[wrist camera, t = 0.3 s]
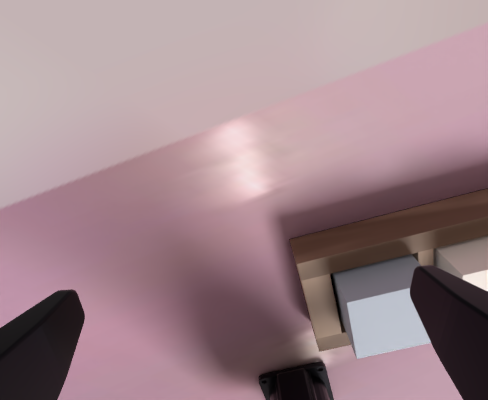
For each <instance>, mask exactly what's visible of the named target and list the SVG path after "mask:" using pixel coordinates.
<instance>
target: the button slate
mask: <svg viewBox="0 0 488 400" xmlns="http://www.w3.org/2000/svg"><path fill="white" fill-rule="evenodd" d="M417 266H421V265H420V263H419V262H418V261H417V260H416V259H415V258H414V257H413V255H412V254H409V255H405V256H401V257H397V258H393V259H389V260H385V261H381V262H376V263H372V264H368V265H364V266H360V267H356V268H352V269H348V270H344V271H340V272H336V273H332V277H333V282H334V287H335V292H336V297H337V302H338V307H339V312H340V317H341V321H342V323H343V326H344V328H345V331H346V333H347V335H348V338H349V340H350V343H351V345H352V348H353V350H354V353H355V355H356V358H357V359H359V358H364V357H368V356H373V355H377V354H382V353H386V352H391V351H396V350H400V349H405V348H409V347H414V346H418V345H423V344H428V343H431V341H430V339H429V337H428V335H427V332H426V330H425V328H424V326H423V324H422V322H421V319H420V317H419V315H418V313H417V311H416V309H415V307H414V304H413V302H412V300H411V297H410V287H411V282H412V277H413V273H414V269H415V268H416V267H417Z"/></svg>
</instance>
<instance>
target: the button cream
mask: <svg viewBox="0 0 488 400" xmlns="http://www.w3.org/2000/svg"><path fill="white" fill-rule="evenodd" d="M433 259H434V266H436V267H438V268H440V269H442V270H444V271H446V272H448V273H450V274H452V275H454V276H457V277H459V278H461V279H463V280H465V281H467V282H469V283H471V284H473V285H475V286H477V287H479V288H481V289H484V290H486V291H488V235H487V236H483V237H479V238H475V239H471V240H467V241H462V242H458V243H454V244H450V245H446V246H442V247H438V248H434V249H433Z"/></svg>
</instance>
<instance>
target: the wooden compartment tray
mask: <svg viewBox="0 0 488 400" xmlns="http://www.w3.org/2000/svg"><path fill="white" fill-rule="evenodd" d="M487 235H488V189H484V190H480V191H476V192H472V193H468V194H464V195H460V196H456V197H453V198H449V199H445V200H441V201H437V202H433V203H429V204H425V205H421V206H417V207H414V208H410V209H406V210H402V211H398V212H394V213H390V214H386V215H382V216H379V217H375V218H371V219H367V220H363V221H359V222H355V223H351V224H347V225H344V226H340V227H336V228H332V229H328V230H324V231H320V232H316V233H312V234H308V235H305V236H301V237H297V238H293V239H289V240H290V244H291V248H292V252H293V255H294V259H295V263H296V267H297V271H298V275H299V278H300V282H301V286H302V290H303V294H304V298H305V301H306V305H307V309H308V313H309V317H310V321H311V324H312V328H313V331H314V334H315V338H316V341H317V345H318V348H319V352H320V351H324V350H329V349H333V348H338V347H342V346H347V345H351V343H350V340H349V338H348V335H347V333H346V331H345V328H344V326H343V323H342V321H341V317H340V312H339V307H338V303H336V302H335V297H334V292H333V287H332V283H331V278H330V274H331V273H336V272H340V271H344V270H348V269H352V268H356V267H360V266H364V265H368V264H372V263H376V262H381V261H385V260H389V259H393V258H397V257H401V256H405V255H409V254H412V255H413V257H414V258H415V259H416V260H417V261H418V262H419V263H420V265H421V266H423V265H433V266H434V259H433V249H434V248H438V247H442V246H446V245H450V244H454V243H458V242H462V241H467V240H471V239H475V238H479V237H483V236H487Z"/></svg>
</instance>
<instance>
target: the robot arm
mask: <svg viewBox="0 0 488 400" xmlns="http://www.w3.org/2000/svg"><path fill="white" fill-rule="evenodd" d="M410 297H411V300H412V302H413V304H414V307H415V309H416V311H417V313H418V315H419V317H420V319H421V322H422V324H423V326H424V328H425V330H426V332H427V335H428V337H429V339H430V341H431V343H432V345H433V347H434V349H435V351H436V353H437V355H438V357H439V359H440V361H441V362H442V364H443V366H444V367H445V369H446V371H447V373H448V374H449V376H450V378H451V379H452V381H453V383H454V384H455V386H456V388H457V390H458V391H459V393H460V395H461V396H462V398H463V400H488V291H486V290H484V289H481V288H479V287H477V286H475V285H473V284H471V283H469V282H467V281H465V280H463V279H461V278H459V277H457V276H454V275H452V274H450V273H448V272H446V271H444V270H442V269H440V268H438V267H436V266H433V265H423V266H417V267H416V268H415V269H414V273H413V277H412V282H411V287H410ZM84 319H85V315H84V311H83V308H82V305H81V302H80V300H79V297H78V294H77V292H76V291H75V290H60V291H57V292H55V293H53V294H52V295H50V296H49V297H47V298H46V299H44V300H43V301H41V302H40V303H38V304H36V305H35V306H33V307H32V308H30V309H29V310H27V311H26V312H24V313H23V314H21V315H20V316H18V317H16V318H15V319H13V320H12V321H10V322H9V323H7V324H6V325H4V326H3V327H1V328H0V400H57V399H58V397H59V394H60V392H61V389H62V387H63V385H64V382H65V380H66V377H67V374H68V371H69V368H70V365H71V362H72V358H73V355H74V352H75V349H76V346H77V343H78V339H79V336H80V333H81V330H82V327H83V324H84ZM259 384H260V386H261V389H262V391H263V393H264V396H265V398H266V400H334V398H333V395H332V391H331V387H330V383H329V379H328V375H327V371H326V367H325V364H324V363H322V362H318V363H314V364H309V365H305V366H300V367H296V368H291V369H287V370H282V371H278V372H273V373H268V374H264V375H261V376H259Z"/></svg>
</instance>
